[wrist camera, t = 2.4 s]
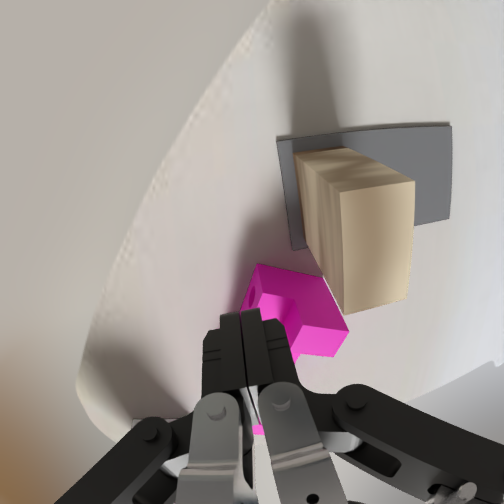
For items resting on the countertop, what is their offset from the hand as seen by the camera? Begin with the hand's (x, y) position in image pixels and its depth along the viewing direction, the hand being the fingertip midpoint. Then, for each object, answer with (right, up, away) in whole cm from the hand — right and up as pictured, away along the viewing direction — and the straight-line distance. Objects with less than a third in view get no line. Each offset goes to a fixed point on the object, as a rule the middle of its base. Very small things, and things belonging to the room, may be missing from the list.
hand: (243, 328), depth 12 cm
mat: (+11, +9, +12) cm, 18 cm away
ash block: (+6, +8, +12) cm, 15 cm away
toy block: (+1, -5, +19) cm, 20 cm away
